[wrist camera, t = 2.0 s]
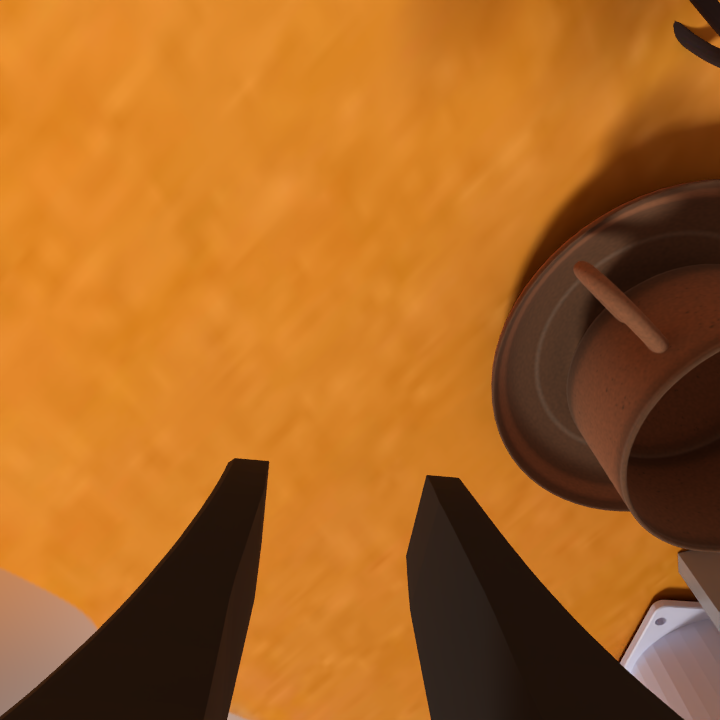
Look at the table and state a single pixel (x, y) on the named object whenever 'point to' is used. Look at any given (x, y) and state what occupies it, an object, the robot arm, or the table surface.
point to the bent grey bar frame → (703, 579)
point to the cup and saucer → (624, 366)
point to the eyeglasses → (716, 17)
